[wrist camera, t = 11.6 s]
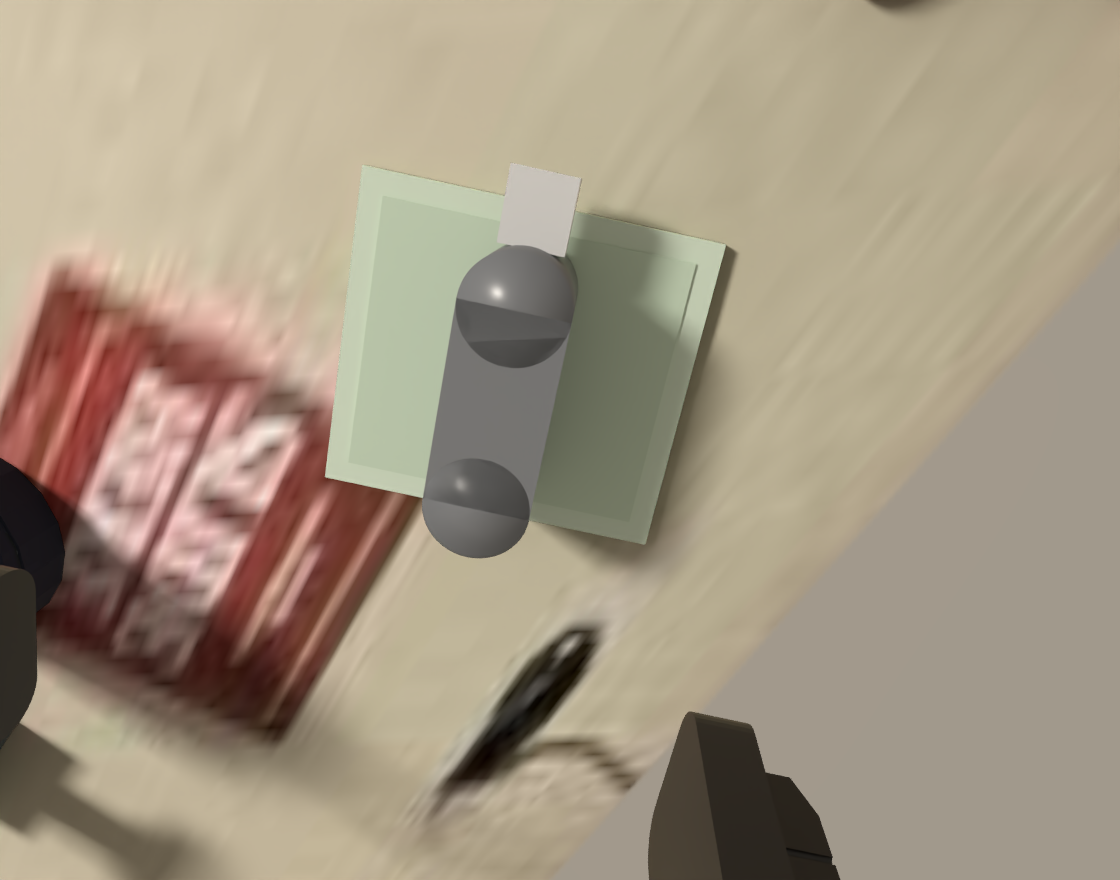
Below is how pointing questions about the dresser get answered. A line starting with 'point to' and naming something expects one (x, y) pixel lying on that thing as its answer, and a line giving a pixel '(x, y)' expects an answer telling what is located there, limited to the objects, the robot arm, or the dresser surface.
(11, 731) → the watch
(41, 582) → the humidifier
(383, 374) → the mat
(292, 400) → the dresser surface
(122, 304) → the dresser surface
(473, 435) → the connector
